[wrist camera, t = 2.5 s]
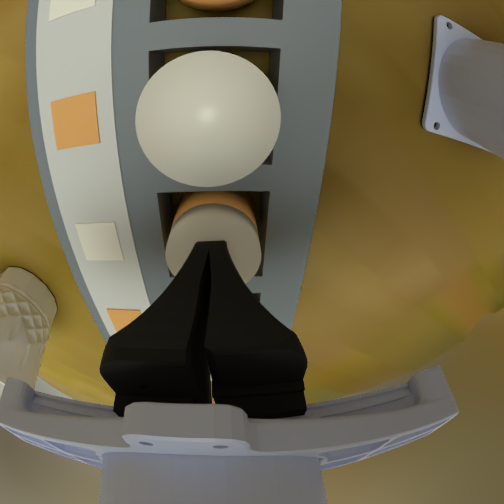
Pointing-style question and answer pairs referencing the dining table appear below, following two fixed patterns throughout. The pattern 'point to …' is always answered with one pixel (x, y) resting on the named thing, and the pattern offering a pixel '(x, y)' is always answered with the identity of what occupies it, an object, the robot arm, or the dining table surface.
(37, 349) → the white cup
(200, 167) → the button
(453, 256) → the dining table surface
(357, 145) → the dining table surface
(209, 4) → the button
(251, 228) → the button
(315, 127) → the board
